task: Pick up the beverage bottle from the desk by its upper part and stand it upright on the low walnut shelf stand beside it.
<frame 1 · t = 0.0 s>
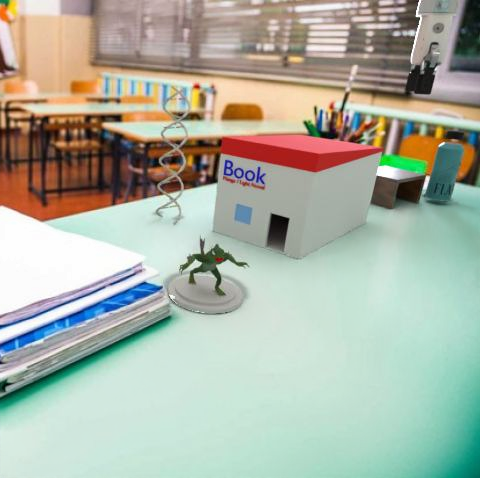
hand: (417, 92, 111), 30 cm above the table, tool pointing down, fingers open, 9 cm apart
shelf: (384, 200, 139), on the table
bookstore: (291, 227, 114), on the table
dna model: (167, 221, 115), on the table
monster figurine: (204, 296, 80), on the table
beverage bottle: (435, 203, 138), on the table
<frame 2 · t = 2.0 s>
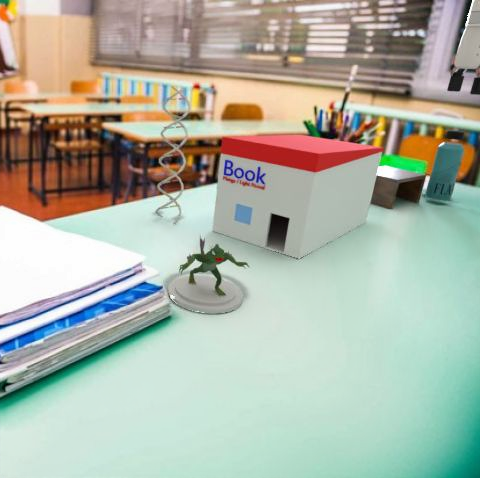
hand: (464, 92, 127), 30 cm above the table, tool pointing down, fingers open, 9 cm apart
nothing on the table moved.
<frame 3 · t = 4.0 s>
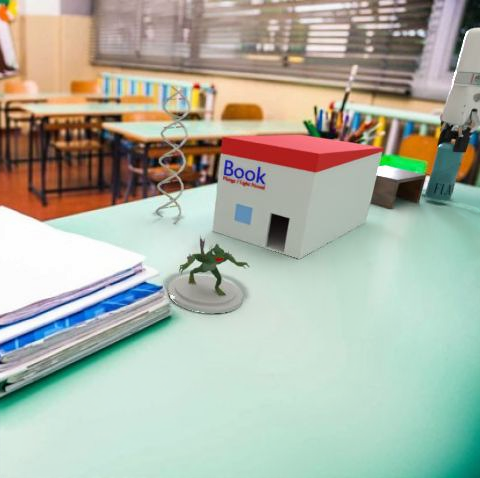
hand: (450, 148, 133), 15 cm above the table, tool pointing down, fingers closed on beverage bottle, 6 cm apart
beverage bottle: (435, 203, 138), on the table, touching gripper
everything else where it was.
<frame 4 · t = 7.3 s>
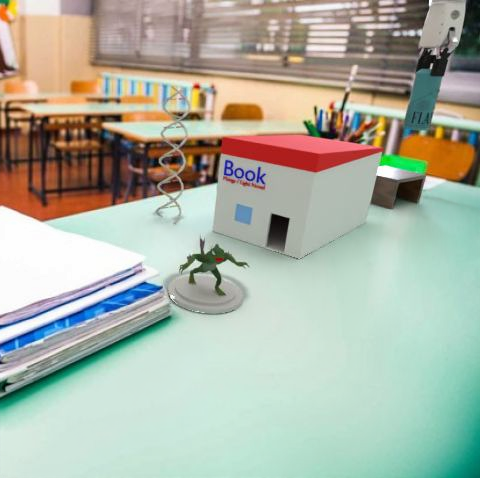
hand: (429, 75, 126), 34 cm above the table, tool pointing down, fingers closed on beverage bottle, 6 cm apart
beverage bottle: (413, 135, 132), point 18 cm above the table, touching gripper
everything else where it was.
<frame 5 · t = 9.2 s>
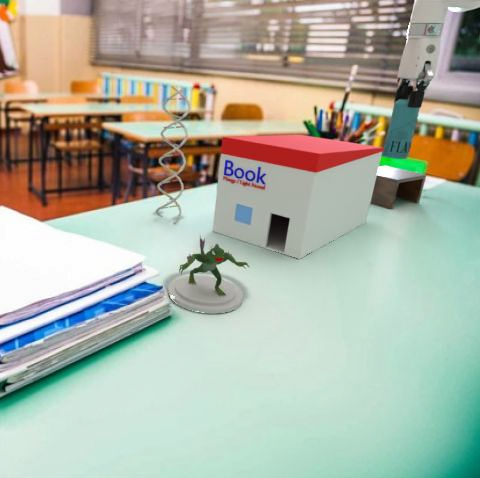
hand: (407, 105, 129), 26 cm above the table, tool pointing down, fingers closed on beverage bottle, 6 cm apart
beverage bottle: (393, 162, 135), point 11 cm above the table, touching gripper
everything else where it was.
when the fingers open (23 cm above the table, at t = 10.5 s): beverage bottle stays where it is, resting on shelf.
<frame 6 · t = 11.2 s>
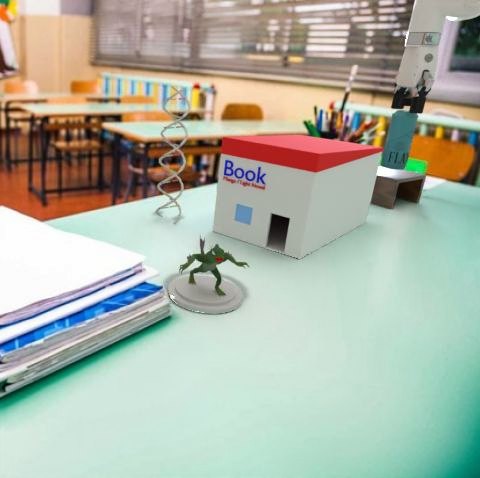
hand: (406, 111, 130), 25 cm above the table, tool pointing down, fingers open, 9 cm apart
beverage bottle: (391, 173, 136), point 8 cm above the table, touching shelf
everything else where it was.
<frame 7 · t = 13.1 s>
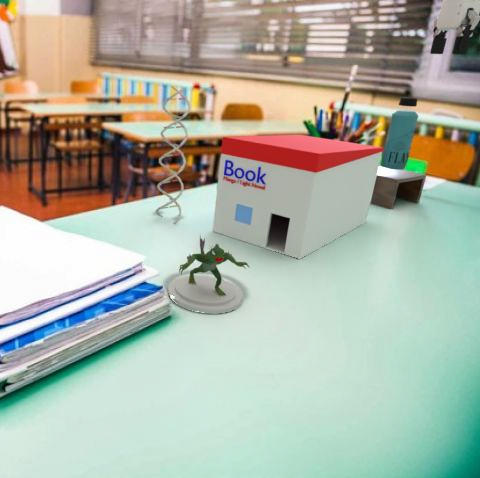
hand: (447, 54, 128), 39 cm above the table, tool pointing down, fingers open, 9 cm apart
nothing on the table moved.
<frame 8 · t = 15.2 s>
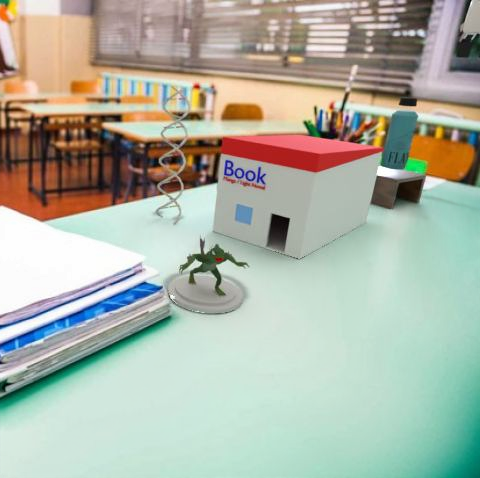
hand: (473, 57, 131), 38 cm above the table, tool pointing down, fingers open, 9 cm apart
nothing on the table moved.
at the end: beverage bottle inside the target area on the shelf (0.1 cm from its centre), point 7.8 cm above the shelf's base; beverage bottle tilted 0°; the gripper is holding nothing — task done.
